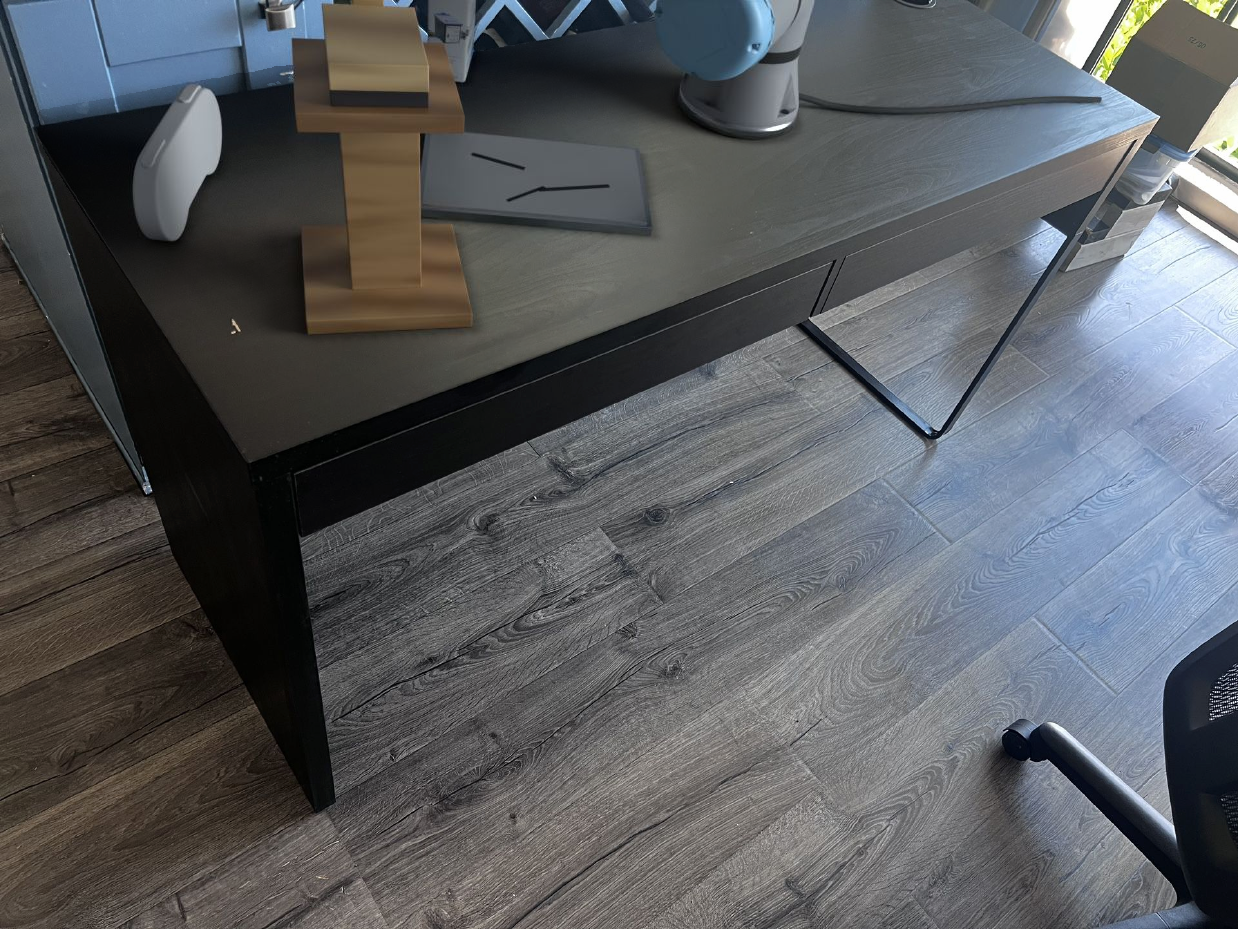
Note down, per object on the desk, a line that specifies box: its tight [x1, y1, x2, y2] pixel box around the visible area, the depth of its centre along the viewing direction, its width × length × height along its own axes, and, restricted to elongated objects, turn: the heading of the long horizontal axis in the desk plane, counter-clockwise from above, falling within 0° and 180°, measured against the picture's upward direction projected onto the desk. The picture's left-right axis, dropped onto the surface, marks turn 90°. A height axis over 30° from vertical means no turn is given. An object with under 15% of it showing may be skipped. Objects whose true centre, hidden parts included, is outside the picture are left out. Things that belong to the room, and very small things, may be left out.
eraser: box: [321, 0, 429, 108], centre depth 75 cm, size 22×7×4 cm, turn 14°
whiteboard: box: [420, 131, 654, 237], centre depth 101 cm, size 24×16×1 cm, turn 94°
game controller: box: [132, 83, 223, 242], centre depth 88 cm, size 20×2×8 cm, turn 1°
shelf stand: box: [291, 37, 473, 335], centre depth 79 cm, size 14×14×20 cm
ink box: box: [426, 0, 477, 83], centre depth 113 cm, size 9×5×12 cm, turn 179°
